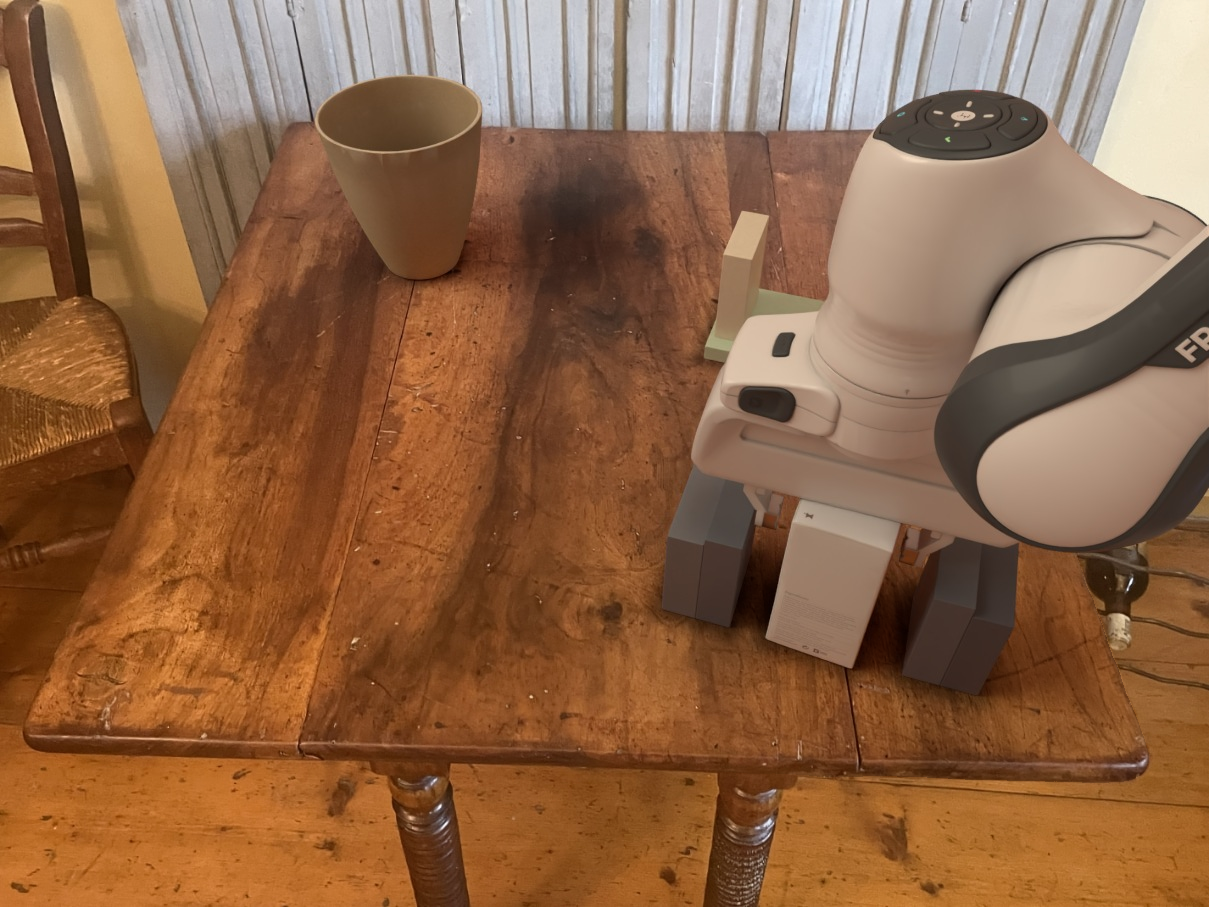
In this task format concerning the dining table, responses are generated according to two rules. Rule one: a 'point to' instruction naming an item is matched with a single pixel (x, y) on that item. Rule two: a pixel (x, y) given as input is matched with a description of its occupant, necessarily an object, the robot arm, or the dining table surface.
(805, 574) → the small box
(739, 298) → the green book stand
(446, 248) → the plant pot
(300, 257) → the dining table surface
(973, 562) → the grey bookends
